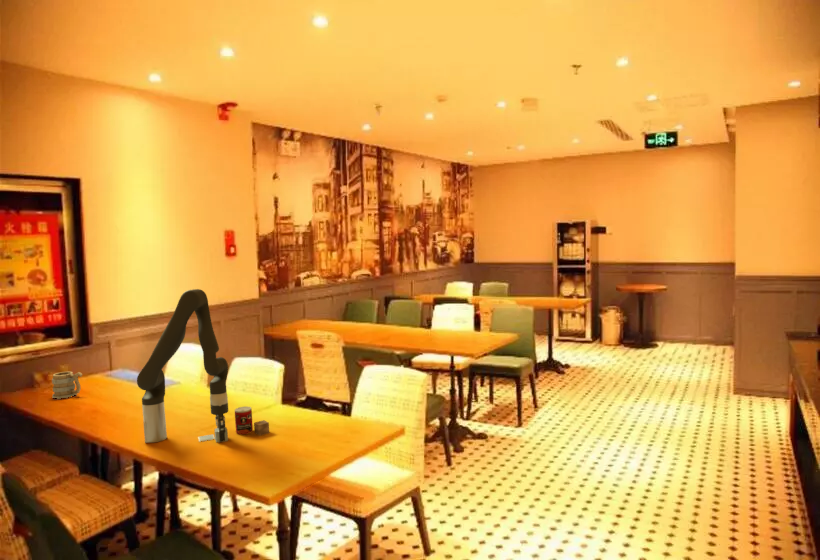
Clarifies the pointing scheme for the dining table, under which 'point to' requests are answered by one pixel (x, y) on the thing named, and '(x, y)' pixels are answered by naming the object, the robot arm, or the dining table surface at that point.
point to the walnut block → (261, 427)
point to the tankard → (65, 384)
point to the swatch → (206, 438)
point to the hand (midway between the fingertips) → (221, 438)
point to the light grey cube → (218, 435)
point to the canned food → (243, 420)
